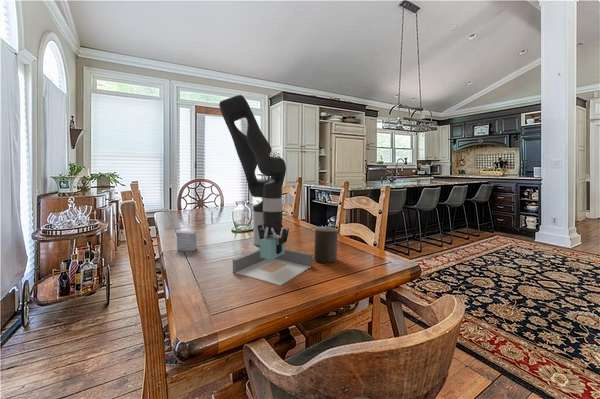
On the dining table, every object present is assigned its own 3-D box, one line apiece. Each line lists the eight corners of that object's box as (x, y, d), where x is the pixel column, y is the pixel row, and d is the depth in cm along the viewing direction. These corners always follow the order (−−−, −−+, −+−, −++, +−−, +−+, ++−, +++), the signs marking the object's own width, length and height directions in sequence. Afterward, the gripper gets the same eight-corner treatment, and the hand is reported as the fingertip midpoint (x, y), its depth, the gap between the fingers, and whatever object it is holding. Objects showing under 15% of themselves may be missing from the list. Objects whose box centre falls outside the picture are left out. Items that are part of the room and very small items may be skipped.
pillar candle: (321, 265, 114) (323, 229, 112) (310, 258, 123) (311, 224, 121) (341, 261, 119) (342, 227, 117) (328, 255, 127) (329, 222, 125)
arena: (269, 256, 124) (268, 245, 124) (312, 266, 113) (312, 254, 112) (232, 272, 106) (232, 259, 105) (280, 285, 94) (280, 271, 93)
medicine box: (197, 248, 135) (196, 231, 134) (193, 251, 131) (192, 233, 130) (181, 248, 136) (181, 230, 135) (176, 251, 132) (176, 232, 131)
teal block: (260, 257, 107) (260, 238, 106) (274, 251, 115) (274, 234, 114) (270, 259, 105) (270, 240, 104) (284, 253, 112) (284, 235, 111)
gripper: (252, 209, 108) (252, 251, 110) (282, 212, 101) (282, 258, 103) (264, 206, 115) (264, 247, 117) (293, 209, 107) (293, 253, 109)
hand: (272, 252), depth 110 cm, fingers closed on teal block, 5 cm apart
